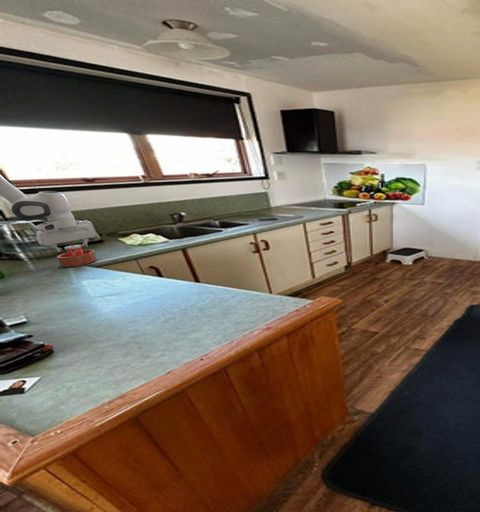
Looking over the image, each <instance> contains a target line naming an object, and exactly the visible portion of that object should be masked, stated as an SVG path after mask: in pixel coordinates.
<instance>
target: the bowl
mask: <svg viewBox="0 0 480 512" xmlns="http://www.w3.org/2000/svg"><path fill="white" fill-rule="evenodd" d="M82 251H83V255H78V256H72V257H69V255H68V253H67V252H66V253H65V252H64V253H62V254H58V255H57V256H56V258H57V261H58V263H59V266H60V267H62V268H63V267H64V268H76V267H80V266H86V265H90V264H93V263H94V262H96V261H97V260H98V258H97V255H96V252H95V250H93V249H82Z"/></svg>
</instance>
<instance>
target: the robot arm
mask: <svg viewBox="0 0 480 512" xmlns="http://www.w3.org/2000/svg"><path fill="white" fill-rule="evenodd" d="M0 197H2V198H4V199H5V200H6V201H8V203H10V204H11V213H12V214H13V215H14V216H15V217H17V218H18V219H20V220H25V221H35V220H39V219H43V218H46V219H47V221H45V222H42V223H39V224H37V225H35V229H36V230H37V231H36V233H35V234H36V235H35V236H36V241H37V242H38V244H39V245H41V246H44V247H46V246H51V247H52V248H54V249H56V252H57V253H62V252H64V250H63V248H62V247H58V244H63V243H67V242H70V241H72V242H73V241H74V242H75V241H80V240H82V241H83V243H81V246H82V247H81V248H88V247H89V246H88V242H89V239H90V238H95V237H96V236H97V234H96V231H95V229H94V228H93V224H92V221H89V220H79V221H76V219H75V216H74V214H73V212H72V210H71V205H70V203H69V201H68V199H67V197H66V196H65V194H64V193H61V192H59V191H53V190H51V191H50V190H40V191H38V192H37V193H36V194H33V195H32V196H29V195H27V194H26V193H24V192H23V191H21V190H20V188H17V187H16V186H14V184H12V183H11V182H9V181H8V180H7V179H5V177H3V175H1V174H0Z"/></svg>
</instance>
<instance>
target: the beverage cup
mask: <svg viewBox="0 0 480 512" xmlns="http://www.w3.org/2000/svg"><path fill="white" fill-rule="evenodd" d="M69 242H70V245H67V246H65V247H63V249H64V250H65V251H66V253H68V255H69V257H72V256H78V255H83V251H82V250H83V247H82V244H73V241H69Z"/></svg>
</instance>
